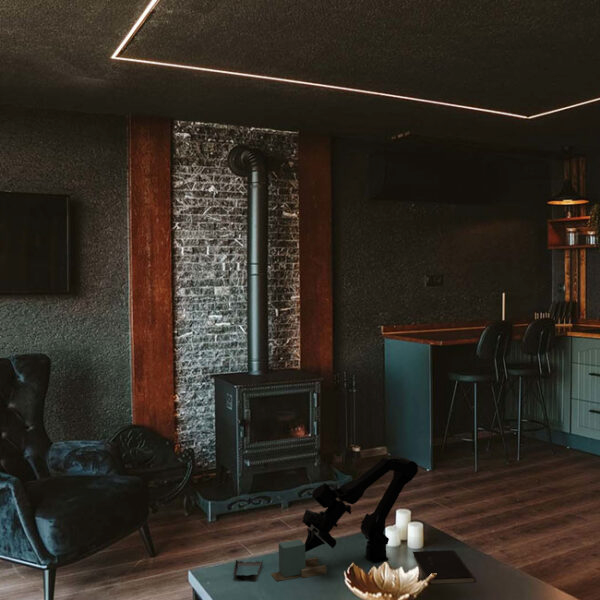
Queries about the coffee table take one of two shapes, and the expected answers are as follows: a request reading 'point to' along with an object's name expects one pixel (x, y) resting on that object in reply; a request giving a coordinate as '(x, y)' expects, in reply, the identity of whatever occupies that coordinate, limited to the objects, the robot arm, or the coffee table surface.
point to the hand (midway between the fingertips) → (303, 551)
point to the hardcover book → (443, 566)
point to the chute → (304, 570)
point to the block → (291, 558)
